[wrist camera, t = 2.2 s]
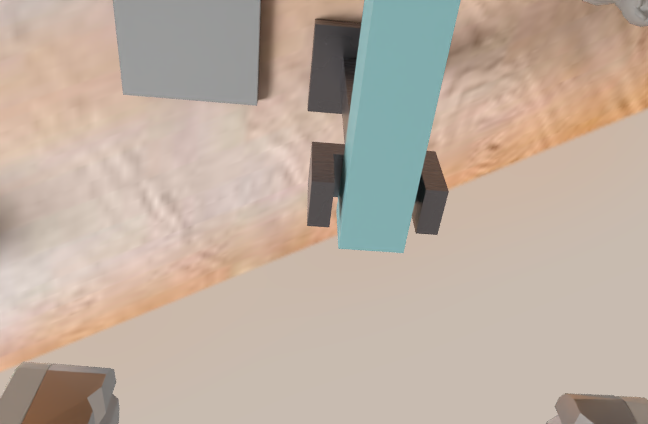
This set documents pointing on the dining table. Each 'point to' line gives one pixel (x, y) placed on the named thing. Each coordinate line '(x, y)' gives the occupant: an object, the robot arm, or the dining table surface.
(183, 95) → the mat
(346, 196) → the rail
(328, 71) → the forked support stand
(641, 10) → the rook chess piece
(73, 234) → the dining table surface
